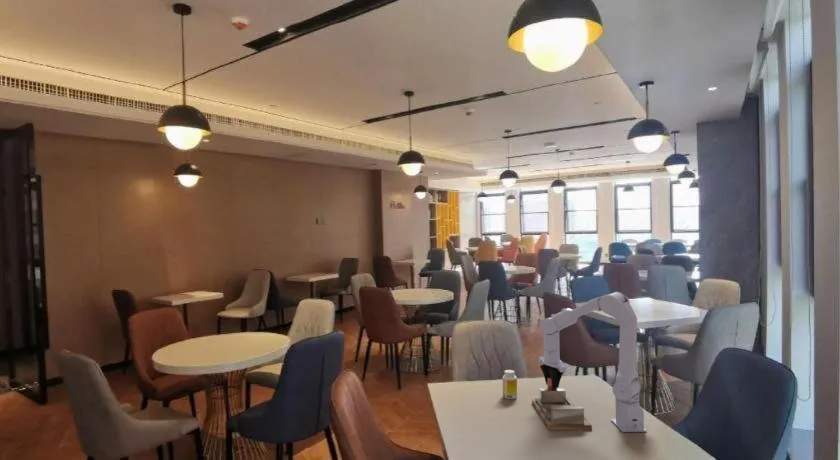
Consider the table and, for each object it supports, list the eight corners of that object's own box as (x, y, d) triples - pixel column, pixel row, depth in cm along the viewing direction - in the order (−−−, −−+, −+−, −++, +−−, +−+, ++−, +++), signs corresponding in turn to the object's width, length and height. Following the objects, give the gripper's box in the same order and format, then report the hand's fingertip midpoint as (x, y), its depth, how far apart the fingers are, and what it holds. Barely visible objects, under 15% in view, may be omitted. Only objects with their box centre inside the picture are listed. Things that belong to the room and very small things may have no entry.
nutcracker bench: (591, 429, 154) (591, 410, 154) (549, 430, 154) (548, 410, 154) (568, 402, 178) (568, 385, 178) (531, 403, 178) (531, 386, 178)
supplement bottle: (520, 397, 185) (519, 371, 185) (510, 400, 181) (510, 374, 181) (509, 393, 189) (508, 368, 189) (499, 396, 185) (499, 371, 185)
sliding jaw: (566, 402, 173) (565, 378, 173) (541, 403, 173) (541, 379, 173) (563, 399, 177) (562, 375, 177) (539, 399, 177) (538, 376, 177)
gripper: (572, 353, 169) (573, 391, 169) (549, 344, 183) (550, 379, 183) (555, 355, 167) (556, 393, 167) (534, 346, 181) (534, 381, 181)
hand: (552, 386), depth 175 cm, fingers closed on sliding jaw, 3 cm apart
